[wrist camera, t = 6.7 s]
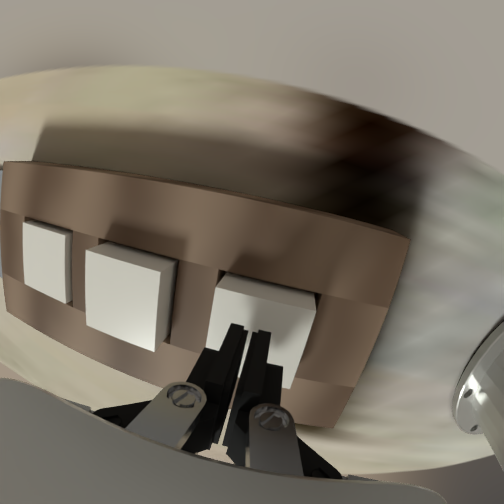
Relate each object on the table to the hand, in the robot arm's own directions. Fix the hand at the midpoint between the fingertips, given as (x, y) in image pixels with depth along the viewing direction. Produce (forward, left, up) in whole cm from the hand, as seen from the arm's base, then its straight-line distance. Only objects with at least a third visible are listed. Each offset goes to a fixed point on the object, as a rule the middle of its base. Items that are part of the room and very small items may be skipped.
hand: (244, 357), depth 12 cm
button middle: (+5, +5, -4) cm, 8 cm away
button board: (+5, +5, -6) cm, 9 cm away
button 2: (+10, +10, -5) cm, 15 cm away
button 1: (0, 0, -4) cm, 4 cm away
